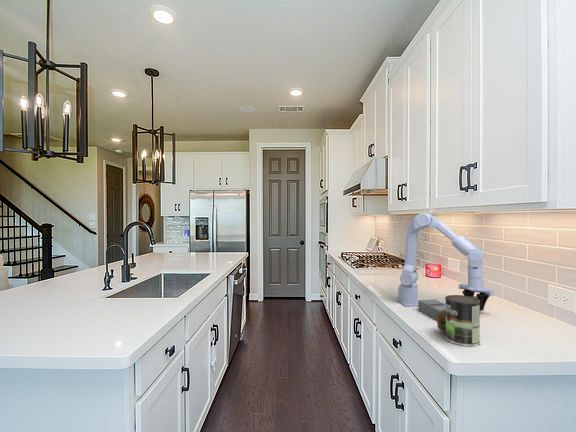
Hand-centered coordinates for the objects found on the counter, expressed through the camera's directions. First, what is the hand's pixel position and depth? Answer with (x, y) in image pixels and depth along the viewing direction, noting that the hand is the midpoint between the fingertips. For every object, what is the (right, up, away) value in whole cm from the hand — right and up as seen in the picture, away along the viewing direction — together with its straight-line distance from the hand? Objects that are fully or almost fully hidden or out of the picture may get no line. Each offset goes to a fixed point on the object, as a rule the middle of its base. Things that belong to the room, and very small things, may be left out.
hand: (475, 308), depth 135 cm
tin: (-19, -3, -20) cm, 28 cm away
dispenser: (-17, -2, -2) cm, 18 cm away
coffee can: (-21, -3, -29) cm, 36 cm away
